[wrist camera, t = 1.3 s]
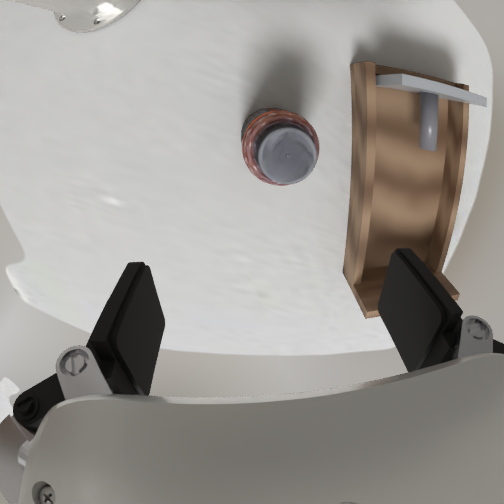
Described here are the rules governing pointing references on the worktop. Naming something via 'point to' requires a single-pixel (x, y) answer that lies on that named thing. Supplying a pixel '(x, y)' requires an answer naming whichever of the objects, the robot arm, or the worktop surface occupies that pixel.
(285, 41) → the worktop surface
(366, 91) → the pusher lane
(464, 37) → the worktop surface
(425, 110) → the pusher plate
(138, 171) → the worktop surface
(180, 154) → the worktop surface
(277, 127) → the supplement bottle
